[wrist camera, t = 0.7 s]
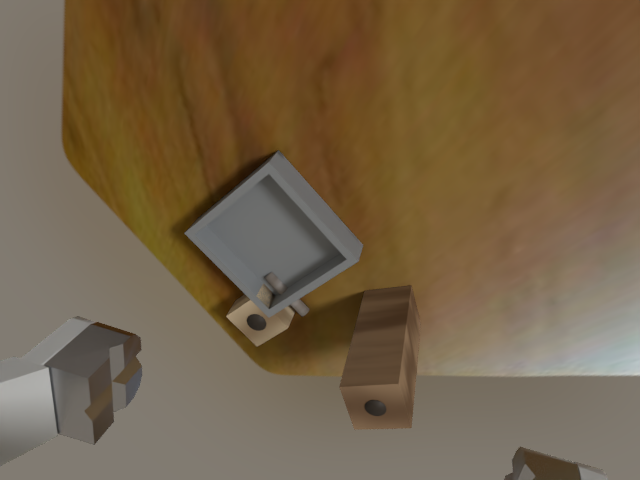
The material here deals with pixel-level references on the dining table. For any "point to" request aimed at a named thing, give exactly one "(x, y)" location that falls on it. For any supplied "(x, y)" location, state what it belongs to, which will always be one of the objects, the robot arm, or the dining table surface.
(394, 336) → the block
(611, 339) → the dining table surface
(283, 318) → the block
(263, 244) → the tray
